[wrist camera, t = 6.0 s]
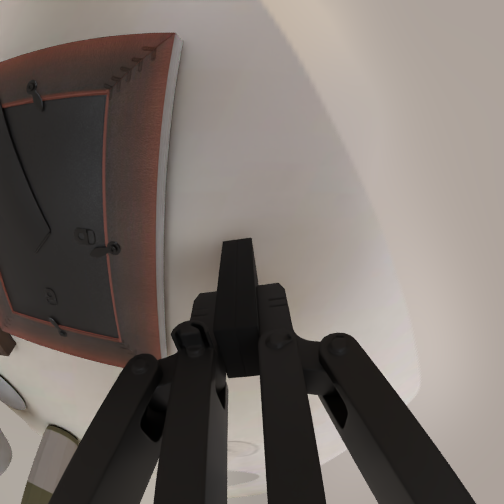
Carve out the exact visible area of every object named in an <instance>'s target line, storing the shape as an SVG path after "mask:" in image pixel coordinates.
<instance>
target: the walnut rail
mask: <svg viewBox="0 0 504 504" xmlns="http://www.w3.org/2000/svg"><path fill="white" fill-rule="evenodd" d="M15 345H16V343H15V342H14V340H13V339H12V337H11V336H10V334H9V333H6V332H4V331H2V329H1V327H0V355H4V356H9V355H10V353H11V352H12V350H13V348H14V347H15Z"/></svg>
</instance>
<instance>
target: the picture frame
mask: <svg viewBox="0 0 504 504" xmlns="http://www.w3.org/2000/svg"><path fill="white" fill-rule="evenodd" d="M182 45H183V40H182V39H181V38H180V37H179V36H178V35H177V34H176V33H144V34H129V35H118V36H109V37H101V38H94V39H88V40H82V41H77V42H71V43H66V44H62V45H57V46H53V47H49V48H45V49H41V50H37V51H34V52H30V53H27V54H24V55H20V56H17V57H14V58H11V59H8V60H5V61H3V62H0V327H1V329H2V331H4V332H6V333H9V334H12V335H14V336H17V337H19V338H22V339H25V340H27V341H30V342H33V343H36V344H39V345H42V346H45V347H48V348H51V349H54V350H57V351H60V352H64V353H67V354H70V355H74V356H77V357H81V358H85V359H88V360H92V361H96V362H100V363H104V364H108V365H113V366H117V367H122V368H124V367H125V365H126V364H127V362H128V361H129V360H130V359H131V358H133V357H134V356H136V355H139V354H142V353H146V354H151V355H154V357H155V358H156V359H157V360H159V359H162V358H165V357H167V348H166V331H165V310H164V213H165V191H166V174H167V161H168V149H169V138H170V128H171V119H172V110H173V102H174V95H175V88H176V81H177V74H178V68H179V62H180V56H181V50H182Z"/></svg>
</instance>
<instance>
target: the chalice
mask: <svg viewBox="0 0 504 504" xmlns="http://www.w3.org/2000/svg"><path fill="white" fill-rule="evenodd" d="M0 400H1V401H2V402H4V403H5V404H7V405H9V406H11V407H13V408H15V409H19V410H23V409H25V408H26V406H25V403H24V401H23V400H22V399H21V397H20V396H19V395H18V394H17V392H16V391H15V390H14V389H13V388H12V387H11V386H10V385H9V384H8V383H7V382H6V381H5V380H4V379H3V378H1V377H0ZM11 459H12V450H11V447H10V445H9V443H8V441H7V439H6V437H5V436H4V434H3V432H2V431H1V429H0V475H1V474H3V473H4V471H5V470H6V469H7V467H8V466H9V464H10V462H11Z"/></svg>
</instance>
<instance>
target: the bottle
mask: <svg viewBox="0 0 504 504" xmlns="http://www.w3.org/2000/svg"><path fill="white" fill-rule="evenodd" d="M77 447H78V441H77V440H76V438H74V437H73V436H72V435H71V434H69V433H68V432H66V431H65V430H63V429H60V428H58V427H54V426H48V427H47V428H46V430H45V432H44V435H43V438H42V440H41V443H40V445H39V448H38V451H37V454H36V457H35V459H34V462H33V465H32V468H31V471H30V474H29V477H28V480H27V484H26V487H25V491H24V494H23V498H22V502H21V504H48V503H49V501H50V499H51V497H52V495H53V493H54V491H55V489H56V487H57V485H58V483H59V481H60V479H61V477H62V475H63V473H64V471H65V469H66V467H67V466H68V464H69V462H70V460H71V458H72V456H73V454H74V453H75V451H76V449H77Z"/></svg>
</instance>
